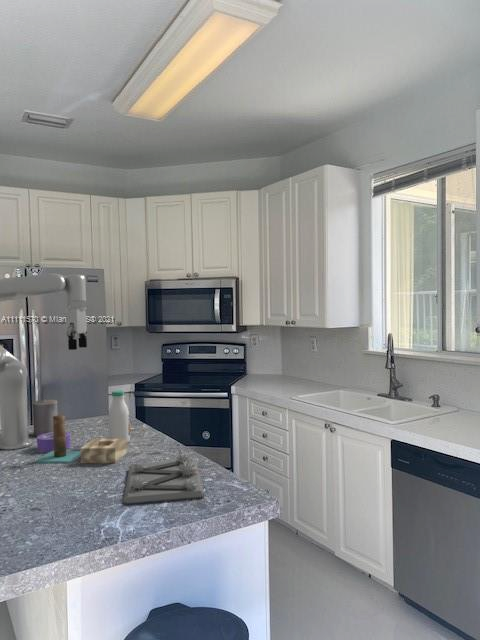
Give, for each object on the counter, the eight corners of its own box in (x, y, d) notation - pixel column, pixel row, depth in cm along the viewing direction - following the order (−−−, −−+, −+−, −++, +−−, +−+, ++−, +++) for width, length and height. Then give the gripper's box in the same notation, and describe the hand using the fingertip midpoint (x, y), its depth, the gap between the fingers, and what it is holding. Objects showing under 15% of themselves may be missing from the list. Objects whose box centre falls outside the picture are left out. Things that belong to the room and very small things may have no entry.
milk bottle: (127, 445, 189) (125, 392, 188) (106, 445, 189) (105, 393, 189) (132, 439, 197) (130, 389, 196) (112, 440, 197) (110, 389, 196)
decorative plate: (129, 470, 161) (128, 449, 161) (196, 465, 164) (195, 444, 164) (123, 507, 131) (122, 481, 131) (205, 500, 135) (204, 474, 135)
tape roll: (30, 452, 183) (30, 438, 183) (48, 443, 195) (48, 430, 195) (60, 453, 181) (59, 439, 181) (76, 444, 193) (76, 431, 193)
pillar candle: (35, 432, 212) (33, 397, 212) (59, 430, 215) (57, 395, 215) (32, 438, 203) (31, 401, 203) (58, 435, 206) (56, 399, 205)
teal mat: (35, 462, 170) (35, 461, 170) (51, 452, 182) (51, 450, 182) (69, 462, 169) (69, 461, 169) (83, 452, 181) (83, 450, 181)
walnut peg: (52, 457, 174) (50, 417, 173) (57, 454, 178) (56, 415, 177) (63, 457, 173) (61, 417, 173) (68, 454, 177) (66, 414, 177)
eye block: (81, 462, 169) (80, 448, 168) (94, 452, 180) (94, 438, 180) (115, 463, 167) (115, 448, 167) (126, 452, 179) (126, 438, 179)
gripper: (76, 305, 208) (77, 346, 208) (57, 306, 191) (59, 350, 191) (93, 305, 207) (95, 346, 208) (76, 305, 190) (78, 350, 191)
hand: (77, 348), depth 200 cm, fingers open, 9 cm apart
